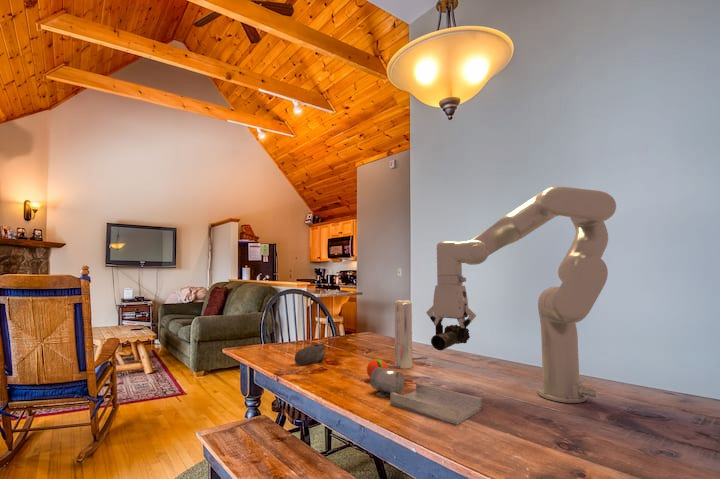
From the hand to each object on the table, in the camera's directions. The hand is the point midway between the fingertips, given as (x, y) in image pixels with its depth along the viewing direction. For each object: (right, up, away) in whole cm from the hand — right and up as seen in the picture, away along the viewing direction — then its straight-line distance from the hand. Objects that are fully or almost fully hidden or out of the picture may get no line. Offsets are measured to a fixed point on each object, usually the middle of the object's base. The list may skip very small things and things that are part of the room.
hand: (450, 339), depth 116 cm
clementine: (-22, -17, +9) cm, 29 cm away
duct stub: (-20, -15, -4) cm, 25 cm away
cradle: (-8, -14, -15) cm, 22 cm away
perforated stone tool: (-48, -19, +33) cm, 61 cm away
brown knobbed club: (0, -2, 0) cm, 2 cm away
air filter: (-11, -18, +28) cm, 35 cm away
